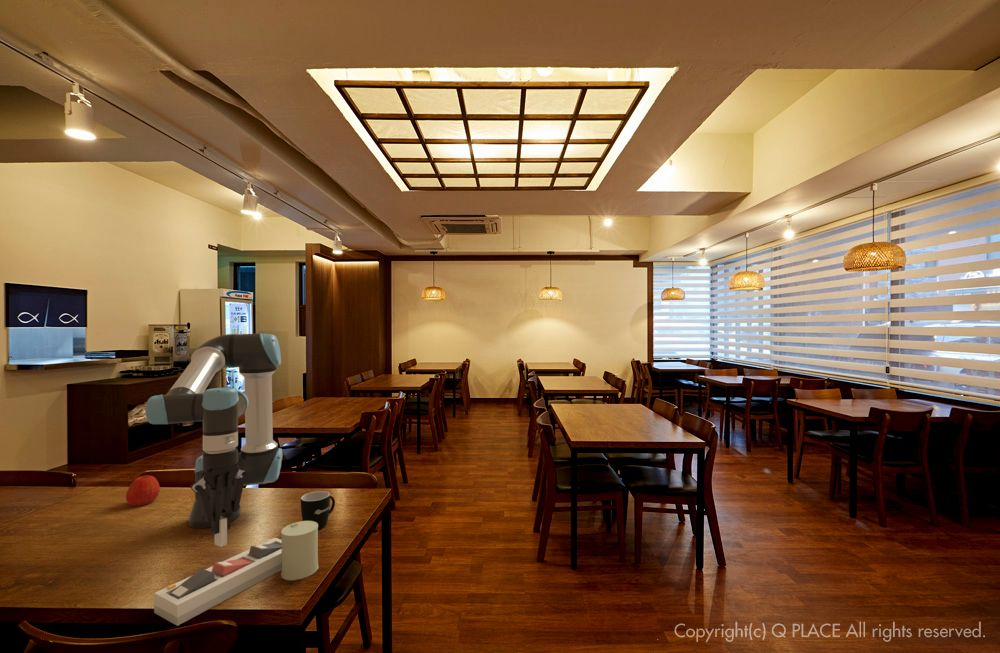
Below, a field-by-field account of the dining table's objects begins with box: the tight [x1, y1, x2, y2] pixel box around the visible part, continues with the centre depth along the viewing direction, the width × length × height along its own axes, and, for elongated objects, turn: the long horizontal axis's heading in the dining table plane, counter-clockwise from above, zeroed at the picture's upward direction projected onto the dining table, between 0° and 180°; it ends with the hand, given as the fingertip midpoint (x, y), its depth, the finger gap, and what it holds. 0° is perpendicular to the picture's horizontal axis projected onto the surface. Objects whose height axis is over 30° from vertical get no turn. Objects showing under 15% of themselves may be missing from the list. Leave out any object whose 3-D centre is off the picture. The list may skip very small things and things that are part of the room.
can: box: [280, 520, 319, 581], centre depth 116 cm, size 9×9×12 cm
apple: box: [125, 474, 161, 507], centre depth 165 cm, size 10×10×10 cm
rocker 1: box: [169, 568, 215, 599], centre depth 102 cm, size 8×5×2 cm, turn 153°
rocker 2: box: [249, 543, 282, 557], centre depth 118 cm, size 8×5×2 cm, turn 152°
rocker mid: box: [212, 559, 253, 575], centre depth 110 cm, size 8×5×2 cm, turn 152°
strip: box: [153, 537, 282, 627], centre depth 113 cm, size 38×10×5 cm, turn 152°
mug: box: [300, 490, 336, 530], centre depth 144 cm, size 12×9×10 cm
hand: (220, 544), depth 107 cm, fingers closed
